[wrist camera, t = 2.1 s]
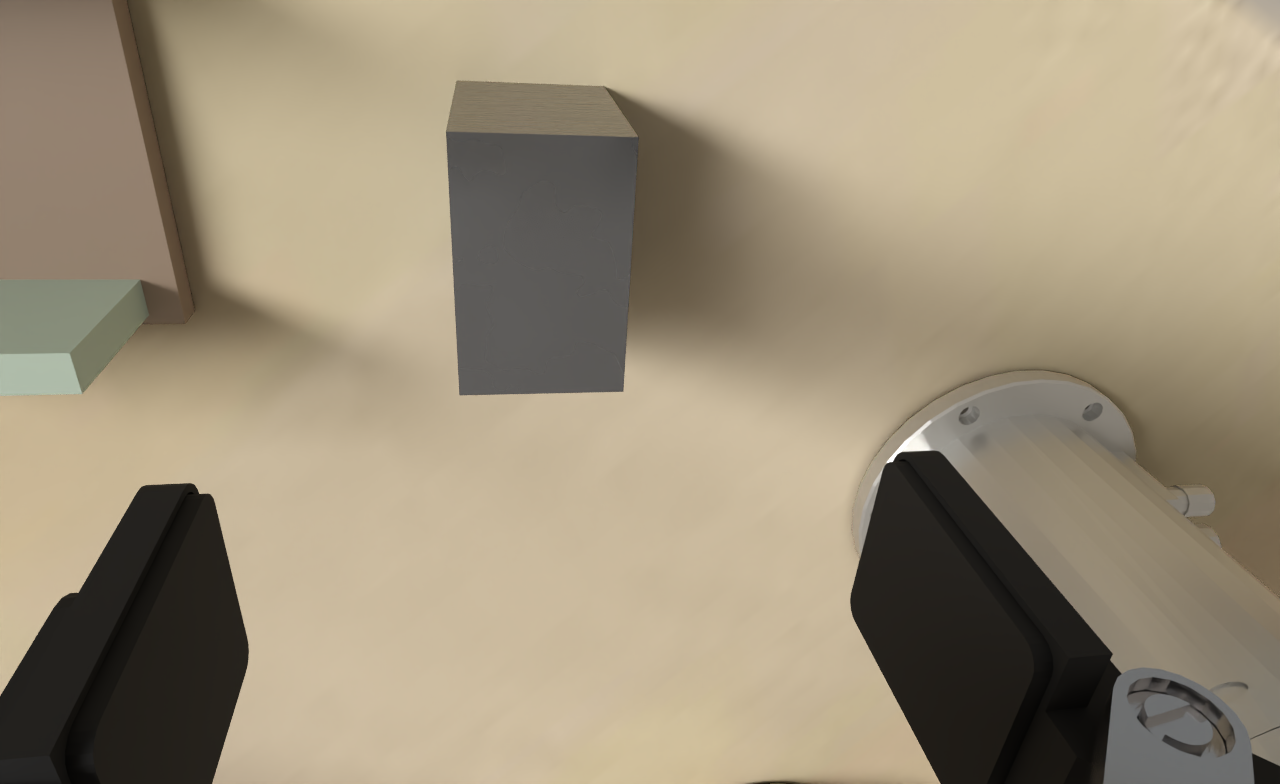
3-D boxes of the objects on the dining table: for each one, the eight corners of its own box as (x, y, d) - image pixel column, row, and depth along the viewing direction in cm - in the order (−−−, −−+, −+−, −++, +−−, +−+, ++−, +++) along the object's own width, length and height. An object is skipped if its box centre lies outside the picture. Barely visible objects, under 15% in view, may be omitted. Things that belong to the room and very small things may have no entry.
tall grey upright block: (604, 86, 26) (638, 136, 20) (595, 294, 29) (623, 391, 23) (456, 80, 25) (446, 131, 19) (466, 294, 28) (459, 394, 22)
